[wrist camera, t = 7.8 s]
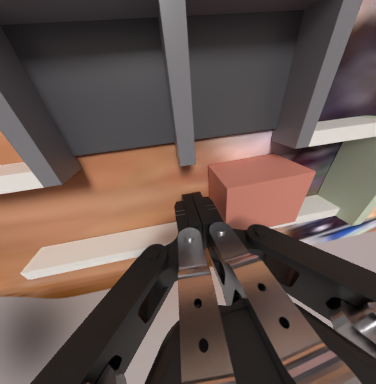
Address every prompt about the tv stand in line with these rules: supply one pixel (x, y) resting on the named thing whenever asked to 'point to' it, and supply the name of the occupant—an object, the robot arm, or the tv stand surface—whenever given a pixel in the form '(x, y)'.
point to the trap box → (173, 96)
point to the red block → (259, 190)
